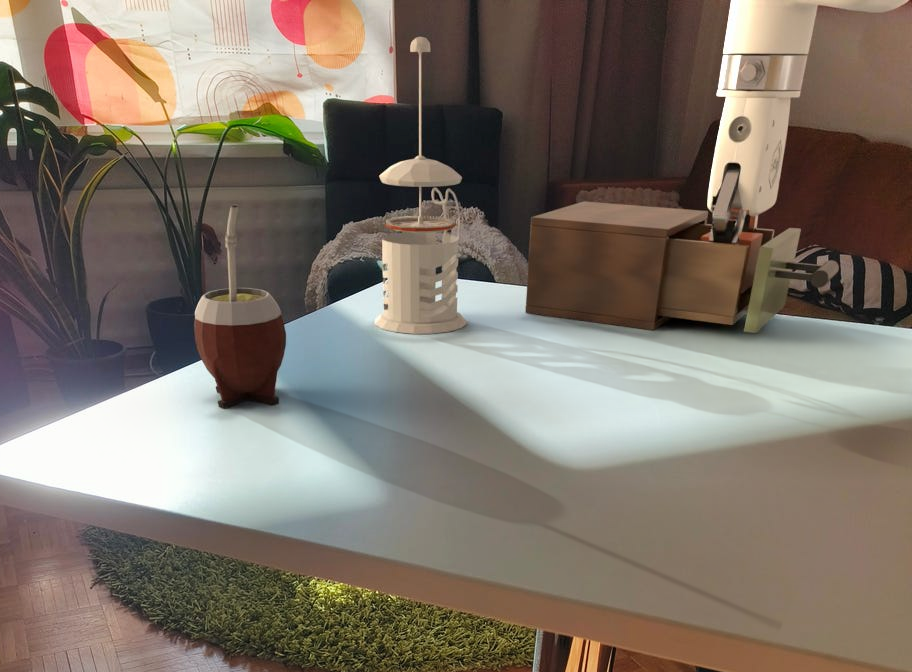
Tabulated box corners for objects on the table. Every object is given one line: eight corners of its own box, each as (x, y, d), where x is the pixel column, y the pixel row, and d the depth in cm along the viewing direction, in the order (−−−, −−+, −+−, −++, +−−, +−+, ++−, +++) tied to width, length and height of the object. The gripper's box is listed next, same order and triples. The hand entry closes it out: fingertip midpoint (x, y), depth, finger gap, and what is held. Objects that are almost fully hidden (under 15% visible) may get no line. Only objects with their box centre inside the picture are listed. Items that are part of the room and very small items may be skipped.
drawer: (832, 312, 95) (851, 232, 91) (808, 340, 86) (829, 253, 81) (664, 292, 103) (674, 218, 99) (624, 315, 93) (634, 235, 89)
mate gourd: (243, 379, 77) (221, 185, 69) (316, 394, 74) (302, 192, 65) (181, 403, 72) (149, 196, 63) (256, 420, 68) (233, 204, 60)
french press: (355, 325, 93) (344, 35, 79) (413, 304, 101) (412, 38, 87) (437, 338, 88) (440, 34, 75) (490, 315, 97) (502, 38, 83)
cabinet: (693, 302, 102) (708, 211, 97) (653, 330, 92) (667, 229, 87) (575, 288, 109) (583, 201, 103) (525, 312, 98) (530, 217, 93)
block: (753, 284, 94) (763, 233, 91) (741, 293, 90) (751, 240, 88) (706, 279, 96) (714, 229, 93) (693, 288, 93) (701, 236, 90)
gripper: (782, 80, 75) (740, 304, 85) (819, 78, 88) (778, 274, 98) (695, 79, 79) (664, 295, 88) (742, 77, 91) (710, 267, 101)
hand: (724, 282), depth 93 cm, fingers closed on block, 5 cm apart
